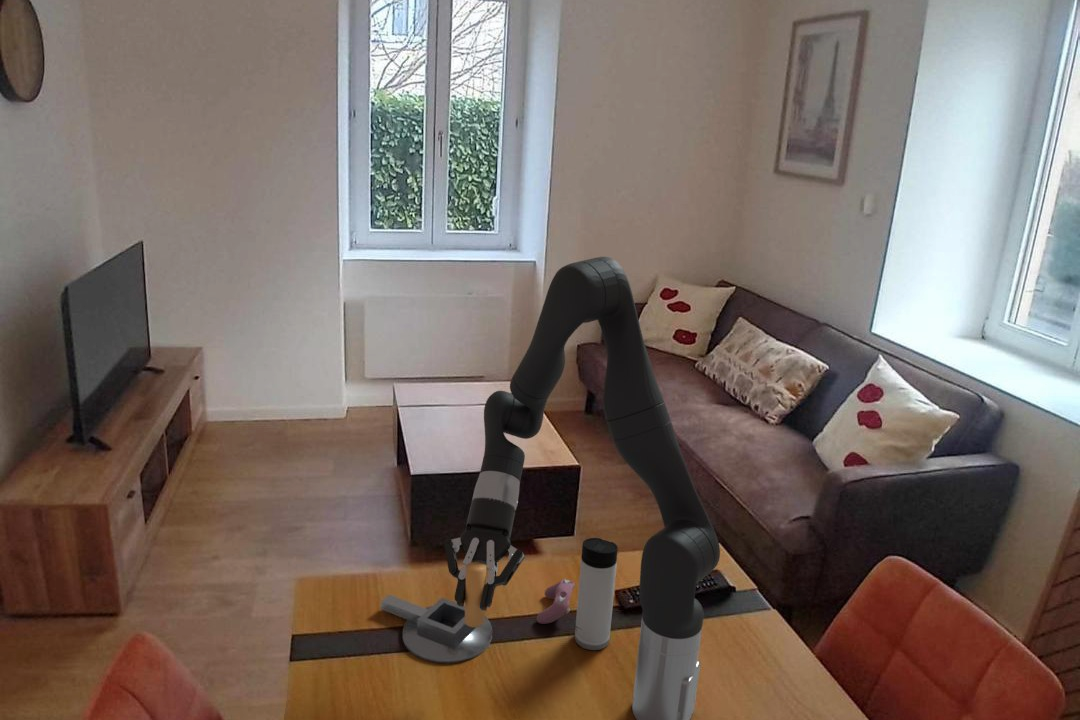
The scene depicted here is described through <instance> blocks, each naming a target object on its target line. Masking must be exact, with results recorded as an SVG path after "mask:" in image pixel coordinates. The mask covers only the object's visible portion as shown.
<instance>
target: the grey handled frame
mask: <svg viewBox="0 0 1080 720" xmlns="http://www.w3.org/2000/svg"><path fill="white" fill-rule="evenodd" d="M380 610H382V611H384V612H387V613H389V614H392V615H395V616H398V617H399V618H402V619H404V620H406V621H405V623H404V624H403V628H402V641H403V644H404V646H405V648H406V650H408V651H409V652H410V653H411V654H412V655H414V656H415V657H417V658H419V659H422V660H424V661H427V662H431V663H436V664H455V663H462V662H465V661H469V660H472V659H474V658H475V657H477V656H480V654H482V653H483V652H484V651H486V649H488V647H489V646H490V644H491V642H492V639H493V627H492V622H490V620H489V619H488V617H487V616H486V615H485V620H484V624H483V625H481V626H479V627H470V626H468V625H466V624H465V605H464V606H463V607H462V606H458V605H457V602H456V601H453V600H450V599H447V598H444V597H441V598H440V599H439V600H438V601H436V602H435V603H434V604H432V605H431V606H427V607H422V606H421V605H417V604H415V603H412V602H410V601H407V600H404V599H401V598H399V597H396V596H394V595H391V594H388V595H387V596H386V597H384V598H383V599H382V600H381V601H380Z"/></svg>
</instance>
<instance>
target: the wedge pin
mask: <svg viewBox="0 0 1080 720" xmlns="http://www.w3.org/2000/svg"><path fill="white" fill-rule="evenodd" d="M486 583H487V565H485V564H483V563H481V562H471V563H469V564H467V565H466V585H465V603H464V606H465V624H466V625H468V626H470V627H479V626H481V625H483V624H484V620H485V616H486V614H485V613H486V611H484V610H481V609H480V603H481V598H482V594H483V589H484V585H485V584H486Z"/></svg>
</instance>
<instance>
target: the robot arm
mask: <svg viewBox="0 0 1080 720" xmlns="http://www.w3.org/2000/svg"><path fill="white" fill-rule="evenodd" d="M631 288H632V287H631V285H630V281H629V279H628V276H627V274H626V272H625V270H624V269H623V268H622V266H621V265H620V263H619V262H618V261H616V260H615V259H614V258H612V257H610V256H599V257H594V258H589V259H585V260H580V261H576V262H572V263H569V264H566V265H564V266H562V267H561V268H559V269H558V270H557V271H556V272H555V274H554V275H553V277H552V279H551V282H550V285H549V286H548V289H547V293H546V295H545V299H544V302H543V305H542V309H541V311H540V315H539V318H538V321H537V324H536V326H535V330H534V333H533V336H532V338H531V342H530V344H529V346H528V348H527V350H526V352H525V354H524V356H523V358H522V359H521V361H520V363H519V365H518V366H517V368H516V370H515V372H514V373H513V375H512V377H511V379H510V383H509V390H510V392H507V391H505V390H497V391H494V392H493V393H491V394H490V396H489V397H488V398H487V400H486V401H485V405H484V406H483V407H484V408H483V424H484V452H483V457H482V462H481V467H480V471H479V474H478V478H477V480H476V483H475V486H474V489H473V495H472V499H471V502H470V503H471V504H470V506H469V507H470V508H469V510H468V511H469V512H468V516H467V519H466V524H465V525H466V526H465V528H464V529H465V530H464V531H463V532H462V533H461V535H460V536H459V537H456V538H453V539H451V538H449V537H447V538H445V539H444V540H443V543H444V549H445V556H446V563H447V569H448V573H449V574H450V575H451V576H452V577H453V578H456V579H457V582H456V583H457V584H456V587H455V592H454V593H455V594H454V595H453V596H454V602H456V603H457V605H458V606H462V607H463V606H465V585H466V565H467V564H469V563H471V562H481V563H483V564H485V565H486V584H485V585H484V589H483V594H482V598H481V603H480V609H481V610H484V611H485V612H486V611H487V608H491V606H492V605H493V604H492V602H493V598H494V594H495V590H496V588H497V587H499V586H503V587H504V586H507V585H508V584H509V582H510V580H511V579H512V577H513V576H514V575H515V573H516V572H517V570H518V568H519V567H520V565H521V564H522V562H523V561H524V559H525V554H524V552H523V551H522V549H521V548H520V549H518V548H516V547H514V546H513V545H512V541H511V535H512V531H513V530H512V529H513V525H514V521H515V517H516V511H517V507H518V503H519V495H520V485H521V484H520V483H521V481H522V474H523V469H524V464H525V458H526V457H525V452H524V451H523V449H522V448H521V447H520V446H518V445H516V444H515V443H513V442H512V441H510V440H508V438H507V437H506V436H505V434H507V435H510V436H513V437H516V438H519V439H524V440H528V439H532V438H534V437H535V436H537V435H538V434H539V432H540V431H541V428H542V424H543V420H544V414H545V413H544V412H545V408H546V406H547V405H546V404H547V402H548V399H549V397H550V395H551V393H552V392H553V390H554V389H555V387H556V386H557V384H558V382H559V381H560V379H561V377H562V375H563V373H564V369H565V365H566V353H565V347H566V344H567V342H568V340H569V339H570V338H571V336H572V335H573V334H574V332H576V330H577V329H578V328H580V326H582V324H586V323H587V324H588V323H591V322H594V321H597V322H598V324H599V328H600V329H601V333H602V337H603V340H604V343H605V349H606V370H605V377H604V384H603V392H602V409H603V414H604V418H605V421H606V424H607V426H608V429H609V432H610V434H611V439H612V441H613V444H614V446H615V449H616V450H617V452H618V453H619V455H620V457H621V458H622V460H624V462H625V463H626V464H627V466H629V468H631V470H633V472H635V473H636V475H637V476H638V477H640V479H641V480H642V481H643V482H644V483H645V484H646V485H647V487H648V488H649V490H650V492H652V495H653V497H654V499H655V501H656V504H657V507H658V509H659V512H660V515H661V519H662V523H663V526H664V528H662V529H661V530H659V531H657V532H656V533H654V534H653V535H652V536H651V537H649V539H647V541H646V542H645V544H644V547H643V550H642V554H641V559H640V560H641V562H640V574H639V588H638V589H639V590H638V591H639V593H638V595H639V602H640V606H641V608H642V609H641V610H642V615H641V623H640V632H639V633H640V634H639V641H638V649H637V650H638V651H637V661H636V667H635V675H634V676H635V678H634V686H633V687H634V688H633V696H632V707H631V708H632V709H631V710H632V714H633V716H634V718H635V719H636V720H691V718H692V716H693V713H694V712H695V705H696V697H697V690H698V683H699V677H700V676H699V675H700V671H701V670H700V668H701V661H699V659H698V657H699V653H700V645H701V644H700V643H701V637H702V630H703V623H704V615H705V614H704V608H703V606H702V604H701V602H699V600H698V599H697V598H695V597H696V590H697V589H696V588H697V584H698V583H700V582H701V581H702V580H703V579H705V578H706V576H708V575H710V573H712V571H713V570H715V569H716V567H717V566H718V564H719V562H720V556H721V547H720V541H719V540H718V539H719V538H718V536H717V533H716V531H715V529H714V526H713V524H712V522H711V520H710V518H709V515H708V513H707V511H706V509H705V508H704V505H703V503H702V501H701V498H700V496H699V494H698V492H697V490H696V487H695V485H694V482H693V480H692V478H691V475H690V473H689V469H688V467H687V463H686V460H685V458H684V456H683V453H682V450H681V448H680V445H679V442H678V439H677V437H676V433H675V429H674V426H673V423H672V419H671V417H670V414H669V411H668V408H667V406H666V403H665V399H664V397H663V395H662V392H661V389H660V387H659V384H658V382H657V379H656V376H655V373H654V369H653V367H652V363H651V360H650V357H649V354H648V349H647V347H646V343H645V341H644V337H643V334H642V330H641V325H640V321H639V317H638V316H639V315H638V313H637V308H636V304H635V300H634V295H633V292H632V289H631ZM461 545H462V547H463V550H464V552H465V556H464V559H463V560H462V561H463V562H462V566H461V568H460V569H459V564H458V559H457V553H458V552H459V551H460V546H461ZM507 553H508V557H507V558H508V562H507V564H506V565H505V566H504V568H503V569H502V571H501V573H500V575H498V562H500V560H501V559H503V557H505V556H506V555H507Z"/></svg>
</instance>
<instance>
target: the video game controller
mask: <svg viewBox="0 0 1080 720" xmlns="http://www.w3.org/2000/svg"><path fill="white" fill-rule="evenodd" d="M575 585H576V584H575V583H574V582H572V581H571V580H569V579H566V578H564V579H561V580H560V581H558V582H557V583H555V584H552V585H550V586H548V587H547V588H546V589H545V590H544V596H545V598H548V599H550V600H551V599H552V600H553V599H554V600H553V603H552V605H550V606H549V607H547V608H546V609H545V608H544V610H542V611H539V613H538V614H537V615H536V621H537V623H539V624H542V625H543V624H544V625H545V624H551V623H553V622H555V621H557V620H558V619H560V618H562V617H563V616H564V615H568V613H570V610H571V609H570V607H569V606H570V598H571V594H572V592H573V590H574V588H575Z"/></svg>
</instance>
